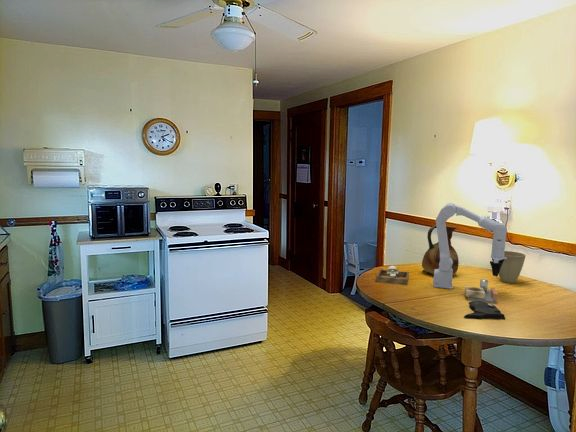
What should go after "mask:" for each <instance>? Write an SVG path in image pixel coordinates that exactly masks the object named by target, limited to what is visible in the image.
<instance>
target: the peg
mask: <svg viewBox="0 0 576 432" xmlns="http://www.w3.org/2000/svg"><path fill="white" fill-rule="evenodd" d="M479 281H480V282H479V283H480V285H479V288H483V289H484V292H485V293H487V290H488V287H489V280H488V279H485V278H481V279H480V280H479Z"/></svg>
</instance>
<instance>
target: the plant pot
mask: <svg viewBox="0 0 576 432" xmlns="http://www.w3.org/2000/svg"><path fill="white" fill-rule="evenodd" d="M504 257H507V259H504V262H503V264H502V266H501V269H500V272H499V274H498V277H499V280H500V281H501V282H503V283H507V284H516V282H517V281H518V279H519V276H520V275H521V271H522V270H523V266H524V263H525V261H526V254H525V253H522V252H518V251H512V250H511V251H510V250H509V251H508V250H505V253H504Z"/></svg>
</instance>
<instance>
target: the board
mask: <svg viewBox="0 0 576 432" xmlns="http://www.w3.org/2000/svg"><path fill="white" fill-rule="evenodd" d="M497 298H498V293H497V291H496V289H495V288H493V287H490V290H489V289H487V293H485V299H480V298H472V297H467V300H468V302H472V301H483V302H486V303H488V304H497Z"/></svg>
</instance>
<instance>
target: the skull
mask: <svg viewBox="0 0 576 432" xmlns="http://www.w3.org/2000/svg"><path fill="white" fill-rule="evenodd" d="M386 270H387V275H386V277H391V278H399V277H398V276H399V275H398V274H399V272H398V271H399V269H398V267H397V266H395V265H390V266H388V267H387V269H386ZM400 278H401V279H403V277H400Z"/></svg>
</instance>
